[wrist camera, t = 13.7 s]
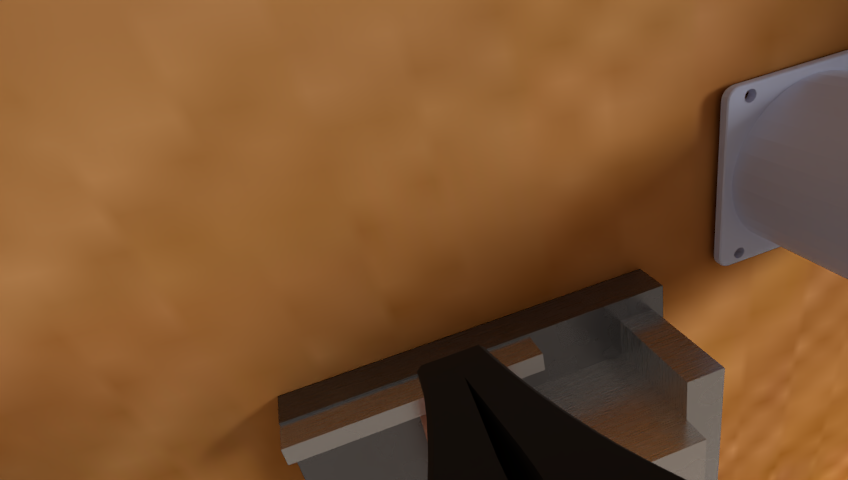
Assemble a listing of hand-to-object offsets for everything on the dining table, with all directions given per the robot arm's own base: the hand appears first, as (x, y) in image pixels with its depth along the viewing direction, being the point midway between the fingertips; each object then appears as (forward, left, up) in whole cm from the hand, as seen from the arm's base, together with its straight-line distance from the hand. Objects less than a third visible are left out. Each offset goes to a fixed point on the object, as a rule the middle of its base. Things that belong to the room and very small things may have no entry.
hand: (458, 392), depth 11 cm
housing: (-6, +11, -8) cm, 15 cm away
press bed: (-2, +11, -9) cm, 15 cm away
